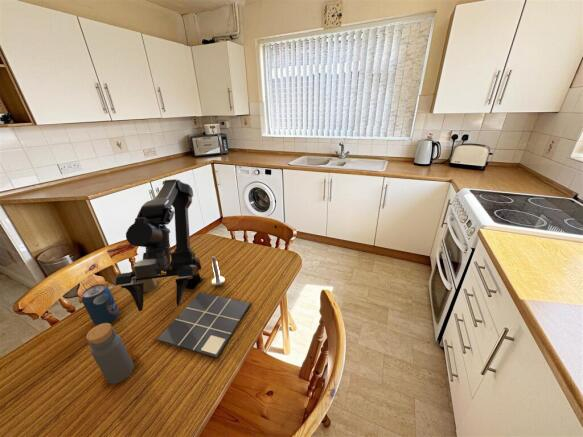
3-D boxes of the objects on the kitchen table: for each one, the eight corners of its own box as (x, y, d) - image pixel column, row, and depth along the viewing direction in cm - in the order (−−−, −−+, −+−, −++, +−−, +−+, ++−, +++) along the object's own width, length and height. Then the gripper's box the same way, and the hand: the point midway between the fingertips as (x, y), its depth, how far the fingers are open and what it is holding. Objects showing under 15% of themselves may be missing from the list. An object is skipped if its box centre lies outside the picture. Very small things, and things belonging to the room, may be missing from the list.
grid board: (157, 340, 69) (156, 339, 69) (200, 293, 86) (199, 292, 86) (217, 358, 63) (216, 356, 63) (250, 304, 81) (249, 302, 80)
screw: (212, 282, 92) (225, 279, 93) (212, 290, 88) (226, 287, 89) (206, 254, 86) (219, 251, 88) (206, 261, 82) (220, 258, 83)
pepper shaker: (135, 289, 89) (125, 265, 85) (149, 280, 94) (141, 256, 90) (146, 293, 87) (137, 269, 82) (160, 283, 92) (152, 259, 88)
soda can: (121, 320, 76) (108, 291, 71) (94, 332, 72) (78, 302, 67) (119, 307, 81) (107, 279, 76) (94, 317, 78) (79, 289, 72)
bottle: (113, 388, 57) (89, 346, 51) (102, 376, 60) (78, 334, 54) (138, 368, 62) (119, 327, 55) (127, 357, 65) (107, 317, 58)
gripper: (100, 251, 55) (100, 321, 53) (184, 242, 58) (187, 308, 56) (127, 253, 66) (127, 311, 64) (196, 245, 69) (199, 301, 66)
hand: (159, 308), depth 62 cm, fingers open, 9 cm apart
